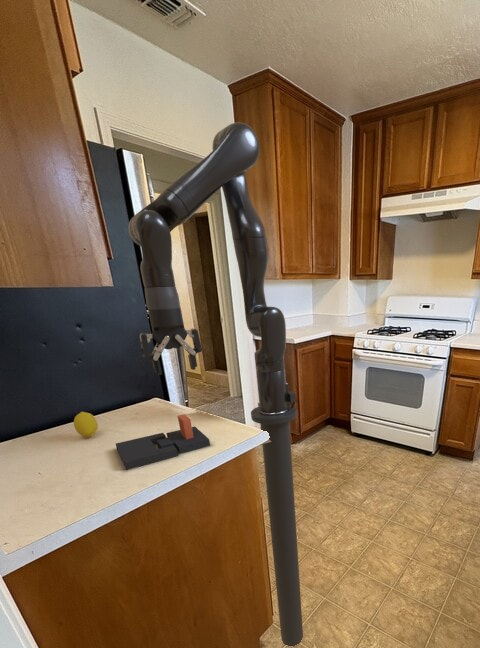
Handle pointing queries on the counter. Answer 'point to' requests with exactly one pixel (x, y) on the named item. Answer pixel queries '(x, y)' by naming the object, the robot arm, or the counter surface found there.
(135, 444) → the base pad
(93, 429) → the lemon
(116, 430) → the counter surface
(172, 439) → the pad
